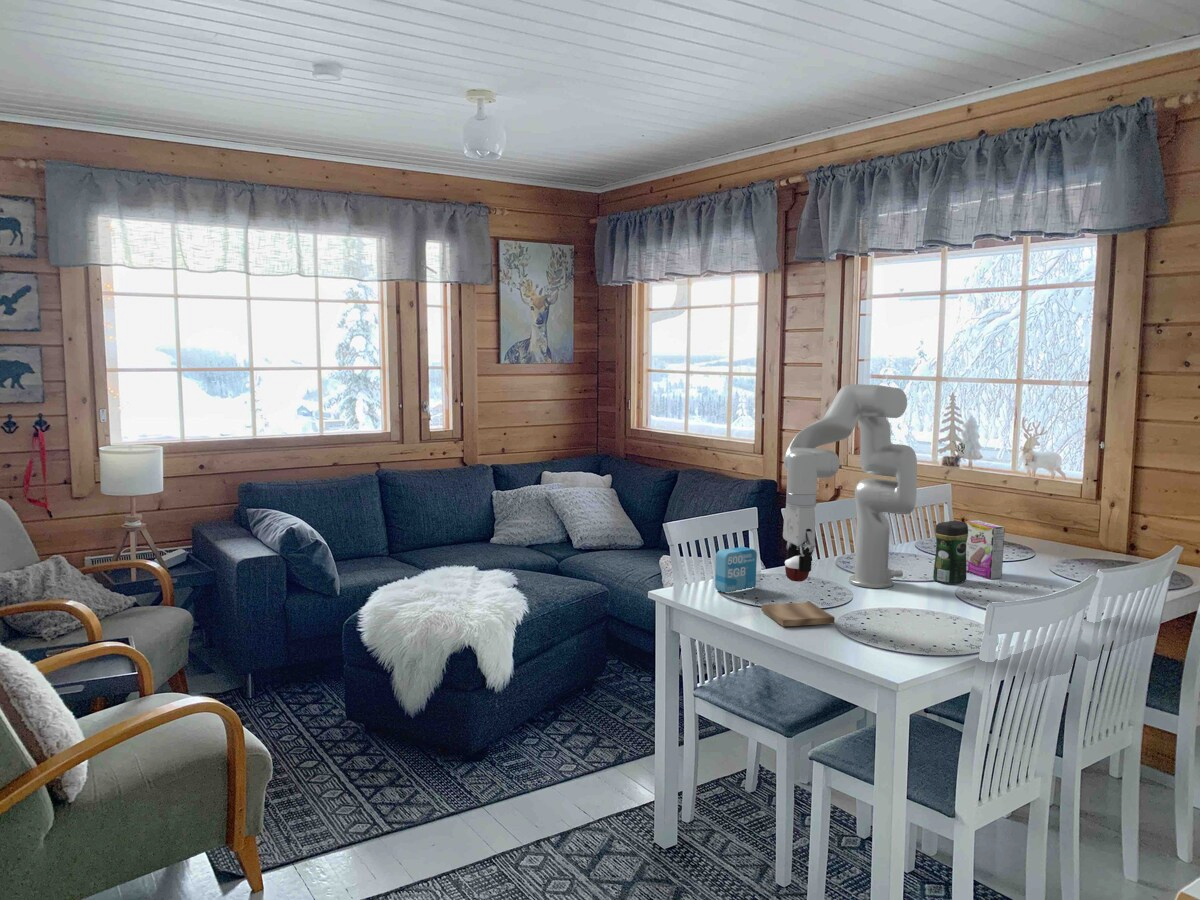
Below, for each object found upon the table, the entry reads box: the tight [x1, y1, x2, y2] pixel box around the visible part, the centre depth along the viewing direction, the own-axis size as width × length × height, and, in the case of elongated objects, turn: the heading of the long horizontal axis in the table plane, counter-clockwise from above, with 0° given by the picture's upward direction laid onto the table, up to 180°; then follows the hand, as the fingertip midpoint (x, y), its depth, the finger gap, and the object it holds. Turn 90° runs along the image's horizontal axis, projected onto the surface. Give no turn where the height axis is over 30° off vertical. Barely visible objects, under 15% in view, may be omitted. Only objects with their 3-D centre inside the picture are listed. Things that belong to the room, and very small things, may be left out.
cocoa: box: [784, 542, 810, 583], centre depth 233 cm, size 10×6×12 cm, turn 132°
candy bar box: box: [966, 519, 1006, 580], centre depth 281 cm, size 11×5×16 cm, turn 22°
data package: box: [714, 546, 758, 593], centre depth 261 cm, size 12×4×12 cm, turn 123°
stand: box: [761, 601, 835, 628], centre depth 235 cm, size 14×14×2 cm
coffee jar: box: [932, 519, 968, 585], centre depth 273 cm, size 10×8×19 cm
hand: (798, 567), depth 233 cm, fingers closed on cocoa, 6 cm apart
